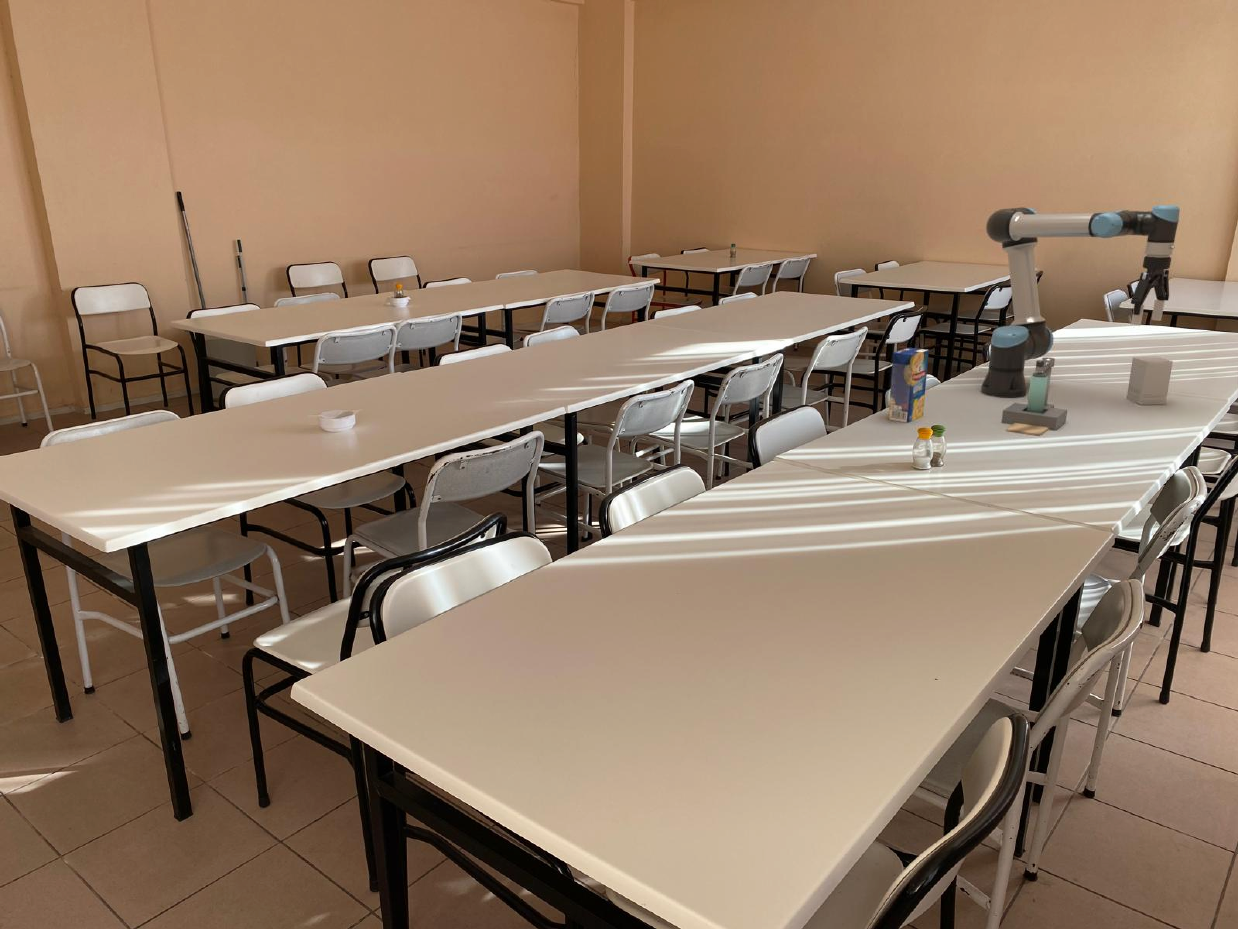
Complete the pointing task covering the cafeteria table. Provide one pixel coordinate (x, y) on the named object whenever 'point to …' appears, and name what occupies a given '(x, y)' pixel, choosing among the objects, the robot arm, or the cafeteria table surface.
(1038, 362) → the clip
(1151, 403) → the supplement box
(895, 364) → the blue food box
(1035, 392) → the plug
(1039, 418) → the socket block
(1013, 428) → the cork mat
